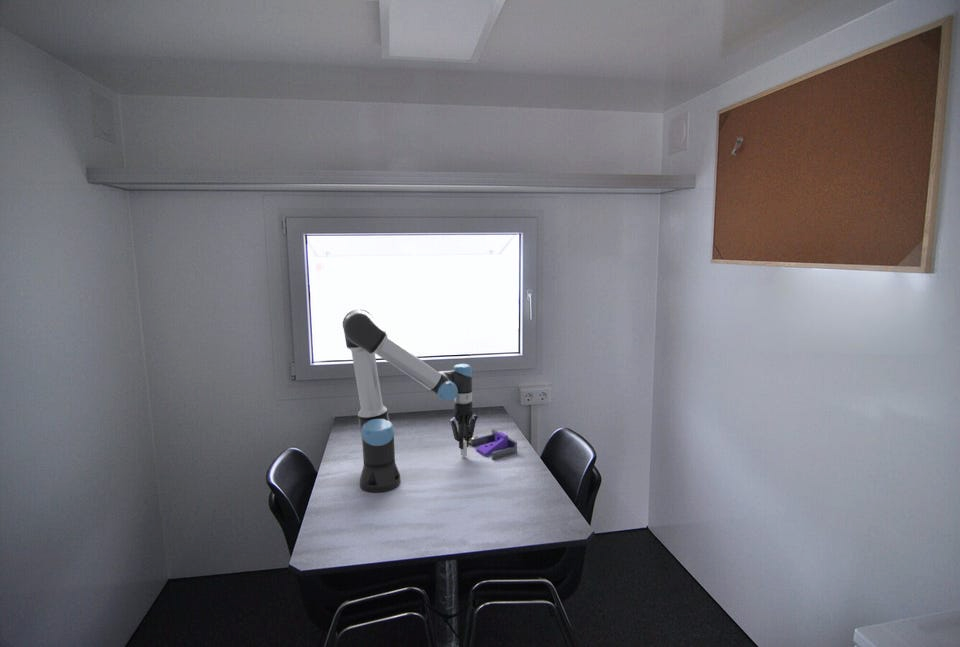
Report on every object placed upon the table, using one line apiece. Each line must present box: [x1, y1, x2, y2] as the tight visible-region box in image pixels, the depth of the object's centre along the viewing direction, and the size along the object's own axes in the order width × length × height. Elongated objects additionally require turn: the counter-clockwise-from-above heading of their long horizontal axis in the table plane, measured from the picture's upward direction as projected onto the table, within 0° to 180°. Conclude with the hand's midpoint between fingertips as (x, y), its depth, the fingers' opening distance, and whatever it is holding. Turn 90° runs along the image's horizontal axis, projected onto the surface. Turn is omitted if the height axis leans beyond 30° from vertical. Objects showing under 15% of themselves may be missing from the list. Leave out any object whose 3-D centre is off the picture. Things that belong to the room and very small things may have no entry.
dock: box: [470, 429, 518, 461], centre depth 223 cm, size 12×18×5 cm
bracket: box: [475, 431, 509, 457], centre depth 222 cm, size 12×7×7 cm, turn 123°
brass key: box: [468, 435, 479, 445], centre depth 232 cm, size 6×3×3 cm, turn 142°
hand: (463, 455), depth 216 cm, fingers closed
